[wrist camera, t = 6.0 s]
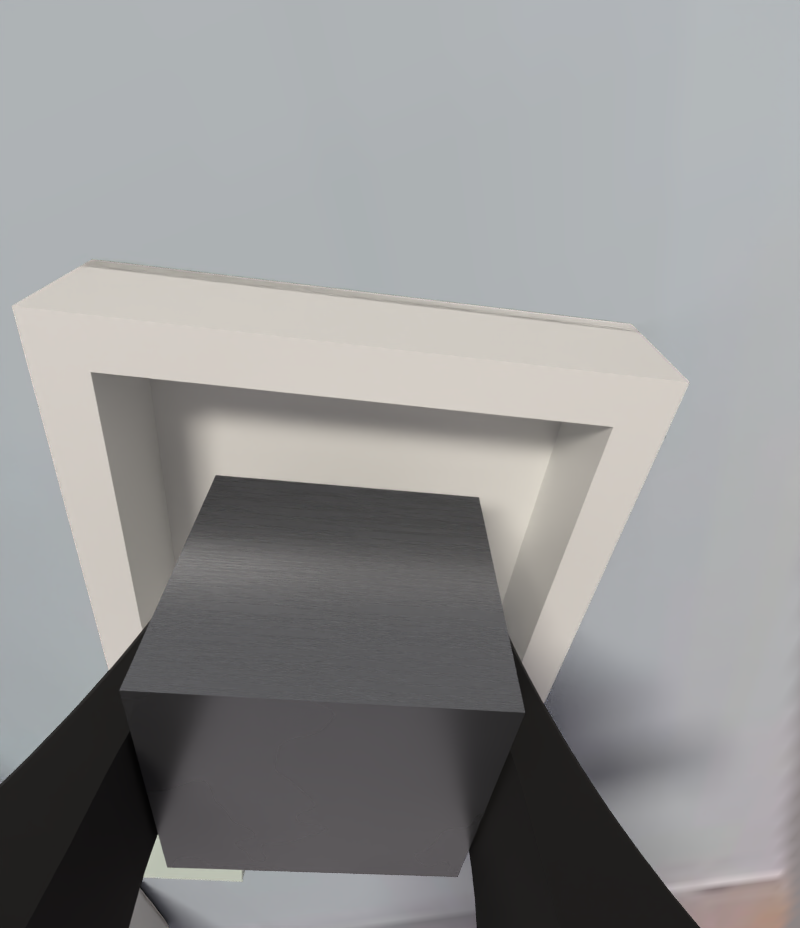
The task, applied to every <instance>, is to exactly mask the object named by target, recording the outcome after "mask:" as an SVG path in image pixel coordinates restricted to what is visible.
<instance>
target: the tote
mask: <svg viewBox="0 0 800 928" xmlns="http://www.w3.org/2000/svg"><path fill="white" fill-rule="evenodd" d="M12 309H13V313H14V316H15V320H16V324H17V328H18V331H19V335H20V339H21V343H22V346H23V350H24V354H25V358H26V361H27V365H28V369H29V373H30V377H31V380H32V384H33V388H34V392H35V395H36V399H37V403H38V407H39V410H40V414H41V418H42V422H43V425H44V429H45V433H46V437H47V440H48V444H49V448H50V452H51V455H52V459H53V463H54V467H55V470H56V474H57V478H58V482H59V485H60V489H61V493H62V497H63V501H64V504H65V508H66V512H67V516H68V519H69V523H70V527H71V531H72V534H73V538H74V542H75V546H76V549H77V553H78V557H79V561H80V564H81V568H82V572H83V576H84V579H85V583H86V587H87V591H88V594H89V598H90V602H91V606H92V610H93V613H94V617H95V621H96V625H97V628H98V632H99V636H100V640H101V643H102V647H103V651H104V655H105V658H106V662H107V666H108V670H110V669H111V667H112V666H113V665H114V664H115V663H116V661H117V660H118V659H119V658H120V657H121V656H122V654H123V653H124V652H125V651H126V650H127V648H128V647H129V646H130V645H131V644H132V642H133V641H134V640H135V639H136V637H137V636H138V635H139V634H140V632H141V631H142V630H143V629H144V627H145V626H146V625H147V624H148V622H149V621H150V620H151V618H152V616H153V614H154V612H155V610H156V607H157V605H158V603H159V601H160V598H161V596H162V594H163V592H164V589H165V587H166V585H167V583H168V580H169V578H170V576H171V574H172V572H173V569H174V567H175V565H176V563H177V560H178V558H179V556H180V554H181V551H182V549H183V547H184V545H185V543H186V540H187V538H188V536H189V534H190V531H191V529H192V527H193V525H194V522H195V520H196V518H197V516H198V514H199V511H200V509H201V507H202V505H203V502H204V500H205V498H206V496H207V493H208V491H209V489H210V487H211V484H212V482H213V480H214V478H215V476H216V475H221V476H233V477H245V478H257V479H269V480H280V481H292V482H304V483H316V484H328V485H340V486H352V487H364V488H376V489H387V490H399V491H411V492H423V493H435V494H447V495H459V496H471V497H479V500H480V505H481V509H482V514H483V518H484V523H485V528H486V532H487V537H488V542H489V546H490V551H491V556H492V560H493V565H494V570H495V574H496V579H497V584H498V588H499V593H500V598H501V602H502V607H503V612H504V616H505V621H506V625H507V630H508V635H509V637H510V639H511V641H512V643H513V645H514V647H515V650H516V652H517V654H518V656H519V658H520V660H521V662H522V664H523V666H524V668H525V669H526V671H527V673H528V675H529V677H530V679H531V681H532V683H533V685H534V687H535V688H536V690H537V692H538V694H539V696H540V698H541V700H542V701H543V703H545V701H546V698H547V696H548V694H549V692H550V690H551V687H552V685H553V683H554V681H555V679H556V676H557V674H558V672H559V670H560V668H561V665H562V663H563V661H564V659H565V657H566V654H567V652H568V650H569V648H570V645H571V643H572V641H573V639H574V637H575V634H576V632H577V630H578V628H579V626H580V623H581V621H582V619H583V617H584V615H585V612H586V610H587V608H588V606H589V604H590V601H591V599H592V597H593V595H594V592H595V590H596V588H597V586H598V584H599V581H600V579H601V577H602V575H603V573H604V570H605V568H606V566H607V564H608V562H609V559H610V557H611V555H612V553H613V550H614V548H615V546H616V544H617V542H618V539H619V537H620V535H621V533H622V531H623V528H624V526H625V524H626V522H627V520H628V517H629V515H630V513H631V511H632V509H633V506H634V504H635V502H636V500H637V497H638V495H639V493H640V491H641V489H642V486H643V484H644V482H645V480H646V478H647V475H648V473H649V471H650V469H651V467H652V464H653V462H654V460H655V458H656V456H657V453H658V451H659V449H660V447H661V444H662V442H663V440H664V438H665V436H666V433H667V431H668V429H669V427H670V425H671V422H672V420H673V418H674V416H675V414H676V411H677V409H678V407H679V405H680V402H681V400H682V398H683V396H684V394H685V391H686V389H687V387H688V385H689V383H690V382H689V381H688V380H687V379H686V378H685V377H684V376H683V375H682V374H681V373H680V372H679V371H678V370H677V369H676V368H675V367H674V366H673V365H672V364H671V363H670V362H669V361H668V360H667V359H666V358H665V357H664V356H663V355H662V354H661V353H660V352H659V351H658V350H657V349H656V348H655V347H654V346H653V345H652V344H651V343H650V342H649V341H648V340H647V339H646V338H645V337H644V336H643V335H642V334H641V333H640V332H639V331H638V330H637V329H636V328H635V327H634V326H633V325H632V324H627V323H619V322H610V321H602V320H594V319H586V318H577V317H569V316H561V315H552V314H544V313H536V312H527V311H519V310H511V309H502V308H494V307H486V306H477V305H469V304H461V303H452V302H444V301H436V300H427V299H419V298H411V297H402V296H394V295H386V294H377V293H369V292H361V291H352V290H344V289H336V288H327V287H319V286H311V285H303V284H294V283H286V282H278V281H269V280H261V279H253V278H244V277H236V276H228V275H219V274H211V273H203V272H194V271H186V270H178V269H169V268H161V267H153V266H144V265H136V264H128V263H119V262H111V261H103V260H94V259H92V260H90V261H88V262H86V263H85V264H83V265H81V266H80V267H78V268H76V269H74V270H73V271H71V272H69V273H68V274H66V275H64V276H62V277H61V278H59V279H57V280H55V281H54V282H52V283H50V284H49V285H47V286H45V287H43V288H42V289H40V290H38V291H37V292H35V293H33V294H31V295H30V296H28V297H26V298H24V299H23V300H21V301H19V302H18V303H16V304H14V305H12Z"/></svg>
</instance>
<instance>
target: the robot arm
mask: <svg viewBox="0 0 800 928" xmlns="http://www.w3.org/2000/svg"><path fill="white" fill-rule="evenodd" d="M150 621H151V620H150ZM150 621H149V622H148V624H147V625H146V626H145V627H144V629H143V630H142V631H141V632H140V634H139V635H138V636H137V637H136V639H135V640H134V641H133V642H132V644H131V645H130V646H129V647H128V648H127V650H126V651H125V652H124V653H123V654H122V656H121V657H120V658H119V659H118V660H117V661H116V663H115V664H114V665H113V666H112V667H111V669H110V670H109V671H108V672H107V673H106V674H105V675H104V676H103V678H102V679H101V680H100V681H99V682H98V683H97V684H96V685H95V687H94V688H93V689H92V690H91V691H90V692H89V693H88V695H87V696H86V697H85V698H84V699H83V700H82V701H81V702H80V704H79V705H78V706H77V707H76V708H75V709H74V710H73V711H72V712H71V713H70V714H69V715H68V716H67V717H66V718H65V720H64V721H63V722H62V723H61V724H60V725H59V726H58V727H57V728H56V729H55V730H54V731H53V732H52V733H51V734H50V735H49V736H48V737H47V738H46V739H45V740H44V741H43V742H42V743H41V744H40V745H39V747H38V748H37V749H36V750H35V751H34V752H33V753H32V754H31V755H30V756H29V757H28V758H27V759H26V760H25V761H24V762H23V763H22V764H21V765H20V766H19V767H18V768H17V769H16V770H15V771H14V772H13V773H12V774H11V775H9V776H8V777H7V778H6V779H5V780H4V781H3V782H2V783H1V784H0V928H129V926H130V922H131V919H132V915H133V911H134V908H135V904H136V900H137V897H138V893H139V889H140V886H141V883H142V880H143V876H144V873H145V870H146V867H147V864H148V861H149V858H150V855H151V852H152V849H153V847H154V844H155V841H156V838H157V835H158V832H157V828H156V825H155V821H154V817H153V813H152V810H151V806H150V802H149V799H148V795H147V791H146V788H145V784H144V780H143V776H142V773H141V769H140V765H139V762H138V758H137V754H136V751H135V747H134V743H133V740H132V736H131V732H130V728H129V725H128V721H127V717H126V714H125V710H124V706H123V703H122V699H121V695H120V691H119V690H120V688H121V685H122V683H123V681H124V679H125V677H126V674H127V672H128V670H129V668H130V665H131V663H132V661H133V659H134V656H135V654H136V652H137V650H138V647H139V645H140V643H141V641H142V639H143V636H144V634H145V632H146V630H147V627H148V625H149V623H150ZM509 639H510V637H509ZM510 644H511V649H512V653H513V658H514V663H515V667H516V672H517V677H518V681H519V686H520V691H521V695H522V700H523V705H524V709H525V715H524V717H523V719H522V722H521V724H520V727H519V729H518V732H517V734H516V736H515V739H514V741H513V744H512V746H511V749H510V751H509V753H508V756H507V758H506V761H505V763H504V766H503V768H502V770H501V773H500V775H499V778H498V780H497V783H496V785H495V787H494V790H493V792H492V795H491V797H490V800H489V802H488V804H487V807H486V809H485V812H484V814H483V817H482V819H481V821H480V824H479V826H478V829H477V831H476V834H475V836H474V838H473V841H472V843H471V846H470V848H469V853H470V860H471V867H472V876H473V885H474V894H475V906H476V922H477V928H700V927H699V926H698V925H697V923H696V922H695V921H694V920H693V919H692V917H691V916H690V915H689V914H688V913H687V911H686V910H685V909H684V908H683V907H682V905H681V904H680V903H679V902H678V901H677V899H676V898H675V897H674V896H673V895H672V893H671V892H670V891H669V890H668V888H667V887H666V886H665V884H664V883H663V882H662V880H661V879H660V878H659V877H658V875H657V874H656V873H655V871H654V870H653V869H652V867H651V866H650V865H649V863H648V862H647V861H646V860H645V858H644V857H643V856H642V854H641V853H640V852H639V850H638V849H637V847H636V846H635V845H634V843H633V842H632V841H631V839H630V838H629V836H628V835H627V834H626V832H625V831H624V830H623V828H622V827H621V825H620V824H619V823H618V821H617V820H616V818H615V817H614V815H613V814H612V813H611V811H610V810H609V808H608V807H607V805H606V804H605V802H604V801H603V799H602V798H601V796H600V795H599V793H598V792H597V790H596V789H595V787H594V786H593V784H592V783H591V781H590V780H589V778H588V776H587V775H586V773H585V772H584V770H583V769H582V767H581V766H580V764H579V762H578V761H577V759H576V758H575V756H574V754H573V753H572V751H571V749H570V748H569V746H568V745H567V743H566V741H565V739H564V738H563V736H562V734H561V733H560V731H559V729H558V727H557V726H556V724H555V722H554V721H553V719H552V717H551V715H550V714H549V712H548V710H547V709H546V707H545V705H544V703H543V701H542V700H541V698H540V696H539V694H538V692H537V690H536V688H535V687H534V685H533V683H532V681H531V679H530V677H529V675H528V673H527V671H526V669H525V668H524V666H523V664H522V662H521V660H520V658H519V656H518V654H517V652H516V650H515V647H514V645H513V643H512V641H511V639H510Z"/></svg>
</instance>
